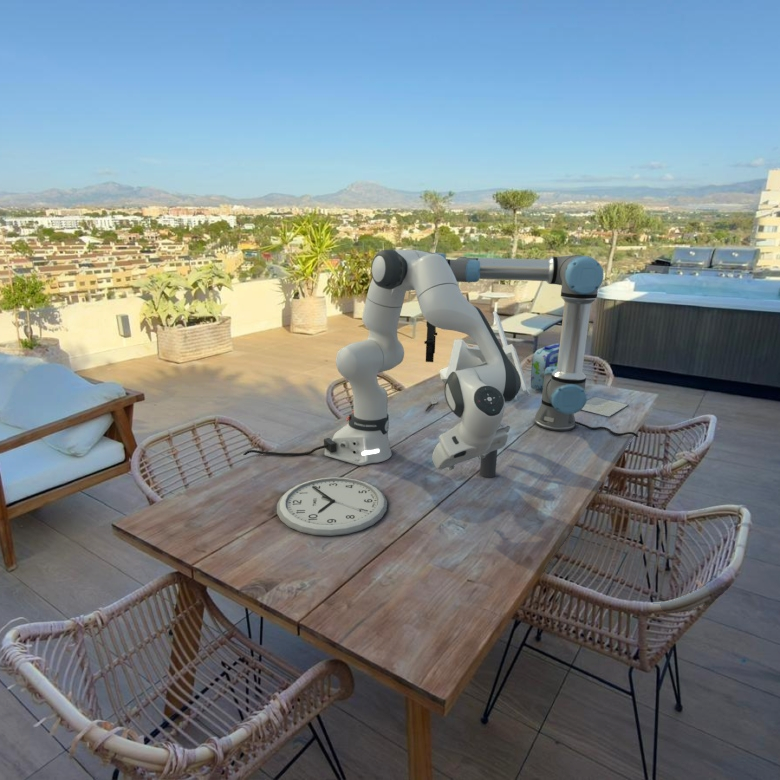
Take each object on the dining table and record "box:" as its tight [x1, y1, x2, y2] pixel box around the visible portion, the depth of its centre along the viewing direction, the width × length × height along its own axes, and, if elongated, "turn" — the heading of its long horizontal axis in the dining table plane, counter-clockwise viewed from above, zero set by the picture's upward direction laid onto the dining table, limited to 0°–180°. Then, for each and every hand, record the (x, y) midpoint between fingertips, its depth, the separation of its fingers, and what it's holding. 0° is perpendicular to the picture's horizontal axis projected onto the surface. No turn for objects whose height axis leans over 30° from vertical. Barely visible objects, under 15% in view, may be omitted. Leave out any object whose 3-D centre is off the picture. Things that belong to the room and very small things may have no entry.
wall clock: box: [276, 476, 388, 537], centre depth 142 cm, size 30×2×30 cm
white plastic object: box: [438, 310, 531, 400], centre depth 245 cm, size 37×45×31 cm
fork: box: [425, 396, 439, 412], centre depth 222 cm, size 3×16×2 cm, turn 160°
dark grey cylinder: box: [479, 449, 498, 479], centre depth 160 cm, size 5×5×15 cm
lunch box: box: [530, 343, 560, 391], centre depth 249 cm, size 26×11×21 cm, turn 134°
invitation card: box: [580, 396, 629, 418], centre depth 226 cm, size 21×1×15 cm
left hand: (465, 461), depth 140 cm, fingers open, 8 cm apart
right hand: (430, 357), depth 190 cm, fingers open, 13 cm apart
